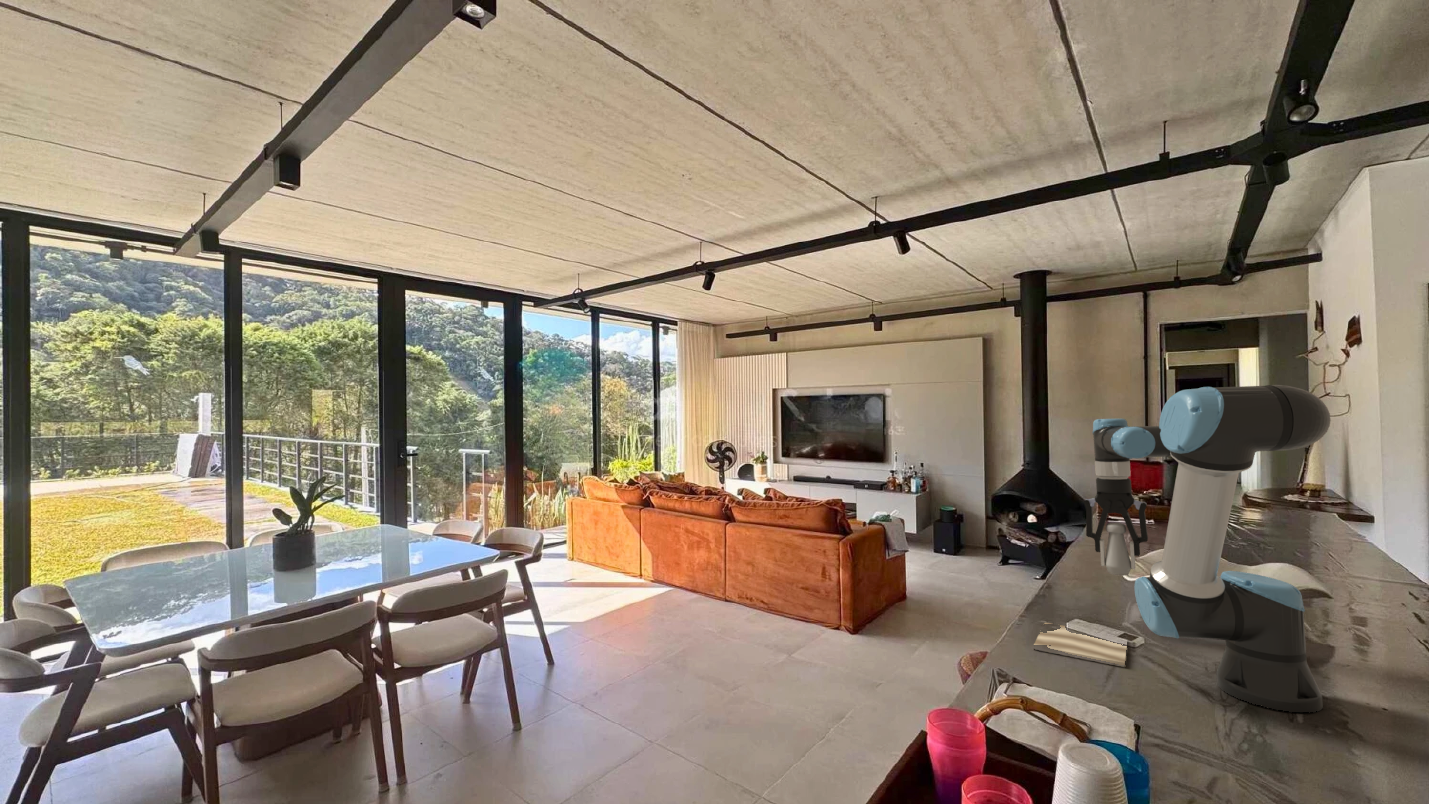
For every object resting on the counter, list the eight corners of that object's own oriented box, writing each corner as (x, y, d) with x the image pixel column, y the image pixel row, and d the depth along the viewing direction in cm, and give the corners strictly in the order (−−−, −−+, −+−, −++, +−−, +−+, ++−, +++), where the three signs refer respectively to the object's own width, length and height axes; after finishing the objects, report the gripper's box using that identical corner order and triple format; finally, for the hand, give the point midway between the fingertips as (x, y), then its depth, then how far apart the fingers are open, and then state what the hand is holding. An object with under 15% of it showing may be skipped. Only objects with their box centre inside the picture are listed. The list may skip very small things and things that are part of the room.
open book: (1125, 668, 126) (1124, 662, 126) (1033, 650, 137) (1033, 645, 138) (1128, 641, 141) (1127, 636, 141) (1045, 626, 152) (1044, 622, 152)
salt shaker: (1131, 577, 144) (1128, 526, 144) (1104, 574, 147) (1101, 524, 148) (1132, 572, 148) (1129, 522, 149) (1106, 569, 152) (1103, 520, 152)
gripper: (1158, 477, 146) (1164, 568, 145) (1073, 474, 157) (1077, 558, 157) (1157, 480, 140) (1163, 574, 139) (1069, 477, 152) (1074, 564, 151)
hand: (1118, 566), depth 148 cm, fingers closed on salt shaker, 6 cm apart
